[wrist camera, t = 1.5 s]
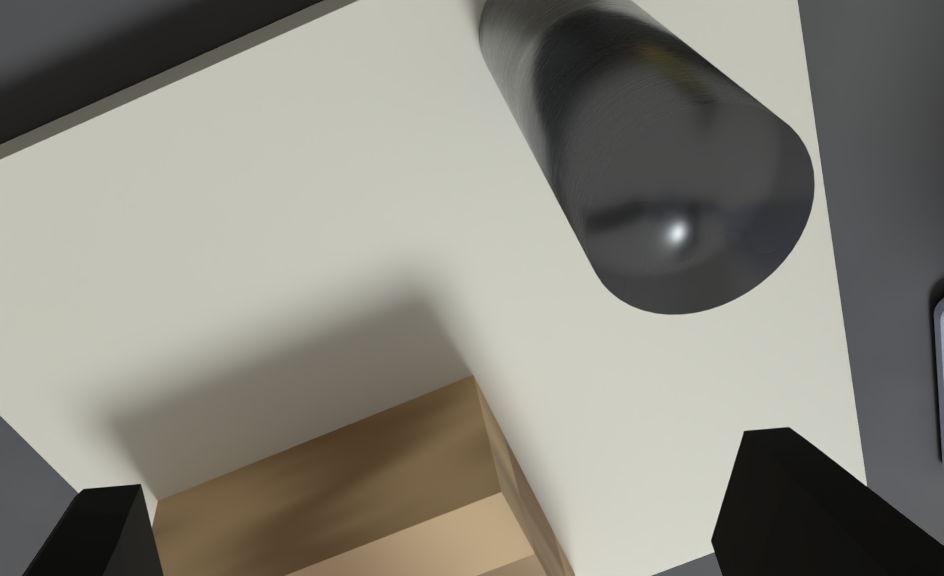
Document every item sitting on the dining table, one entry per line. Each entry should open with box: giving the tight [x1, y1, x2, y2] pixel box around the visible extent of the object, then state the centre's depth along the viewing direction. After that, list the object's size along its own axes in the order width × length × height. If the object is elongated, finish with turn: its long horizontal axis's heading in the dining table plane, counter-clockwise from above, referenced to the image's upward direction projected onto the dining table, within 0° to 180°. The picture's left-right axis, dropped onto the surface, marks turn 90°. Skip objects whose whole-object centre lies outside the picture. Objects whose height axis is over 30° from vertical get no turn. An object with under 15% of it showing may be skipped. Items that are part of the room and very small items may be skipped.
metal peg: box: [479, 0, 815, 315], centre depth 13 cm, size 3×3×8 cm
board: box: [0, 0, 867, 576], centre depth 22 cm, size 20×20×1 cm
